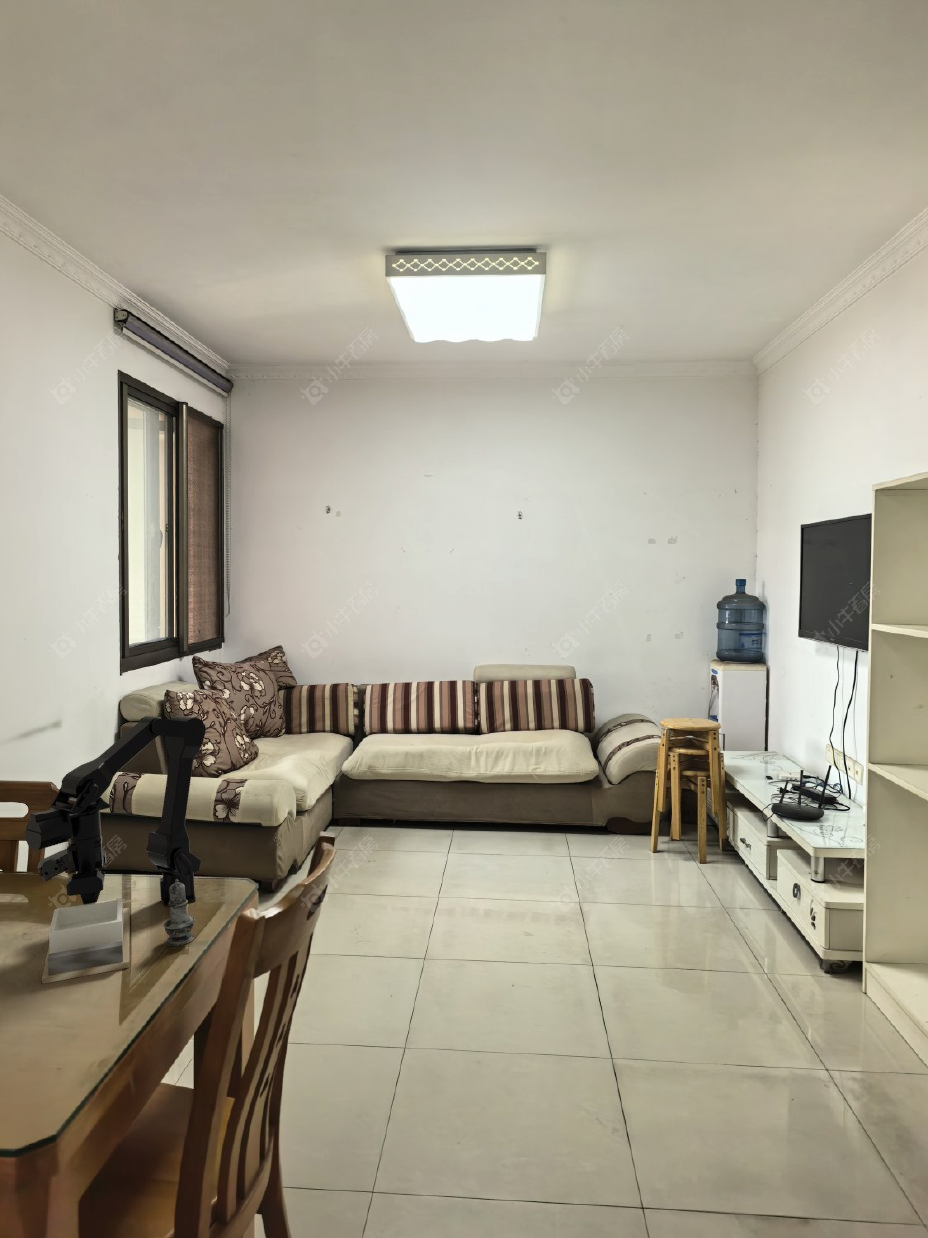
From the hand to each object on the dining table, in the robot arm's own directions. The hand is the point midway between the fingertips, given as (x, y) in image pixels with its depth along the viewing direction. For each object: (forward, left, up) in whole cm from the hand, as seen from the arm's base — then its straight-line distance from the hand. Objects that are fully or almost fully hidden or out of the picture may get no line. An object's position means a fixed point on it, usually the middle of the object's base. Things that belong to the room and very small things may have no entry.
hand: (89, 913), depth 165 cm
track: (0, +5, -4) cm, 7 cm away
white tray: (0, +8, -3) cm, 8 cm away
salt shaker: (-16, +11, -4) cm, 20 cm away
